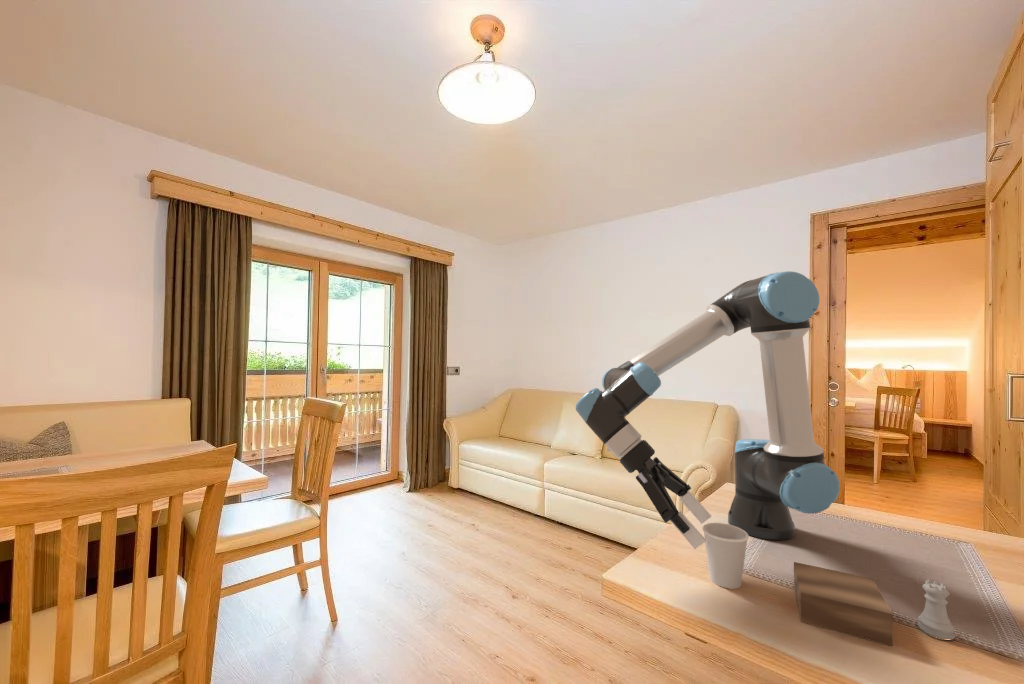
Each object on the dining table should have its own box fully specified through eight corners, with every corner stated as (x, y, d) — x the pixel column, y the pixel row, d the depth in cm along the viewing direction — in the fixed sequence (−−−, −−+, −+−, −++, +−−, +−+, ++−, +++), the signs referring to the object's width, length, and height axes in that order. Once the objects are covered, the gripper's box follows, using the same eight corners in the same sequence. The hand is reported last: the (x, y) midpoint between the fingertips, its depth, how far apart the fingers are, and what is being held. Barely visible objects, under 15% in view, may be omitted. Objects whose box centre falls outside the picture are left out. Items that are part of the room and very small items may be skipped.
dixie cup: (694, 579, 86) (695, 529, 86) (713, 565, 91) (713, 519, 91) (738, 597, 79) (738, 544, 79) (755, 582, 84) (755, 532, 85)
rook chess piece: (963, 643, 67) (963, 593, 67) (930, 639, 68) (930, 589, 68) (941, 626, 71) (940, 578, 72) (910, 622, 72) (910, 575, 73)
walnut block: (793, 587, 83) (793, 561, 83) (872, 606, 77) (872, 578, 77) (800, 621, 72) (800, 592, 72) (892, 646, 66) (892, 614, 66)
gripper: (631, 448, 106) (696, 520, 99) (602, 473, 84) (681, 568, 77) (653, 429, 104) (721, 502, 96) (628, 449, 82) (713, 545, 74)
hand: (703, 531), depth 86 cm, fingers open, 13 cm apart
